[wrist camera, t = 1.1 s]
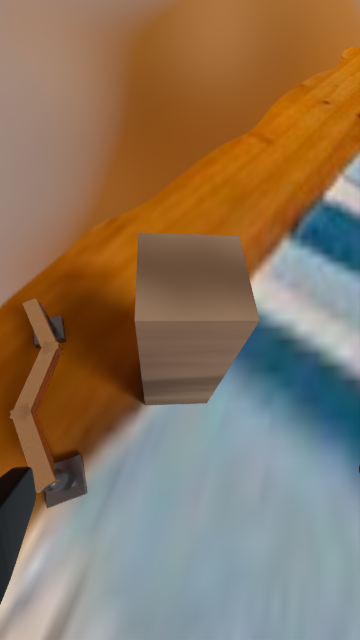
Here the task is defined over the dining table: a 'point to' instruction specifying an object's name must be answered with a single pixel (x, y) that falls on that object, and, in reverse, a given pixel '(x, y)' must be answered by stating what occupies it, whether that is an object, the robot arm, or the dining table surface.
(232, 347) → the taupe upright block
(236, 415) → the dining table surface
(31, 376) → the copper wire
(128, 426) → the dining table surface
